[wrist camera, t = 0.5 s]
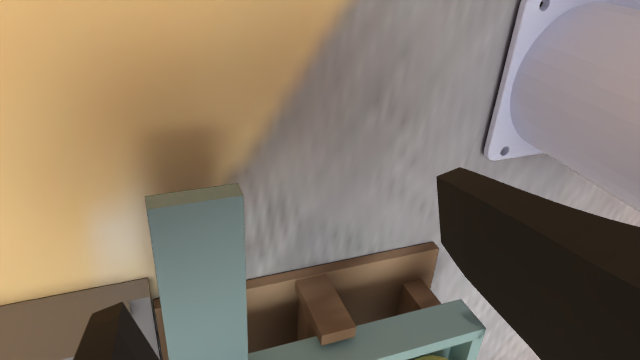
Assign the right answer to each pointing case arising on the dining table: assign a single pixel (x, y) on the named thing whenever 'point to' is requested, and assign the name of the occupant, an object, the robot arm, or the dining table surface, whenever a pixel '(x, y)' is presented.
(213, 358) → the lever
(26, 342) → the tray
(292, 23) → the dining table surface
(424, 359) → the ball
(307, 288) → the base
